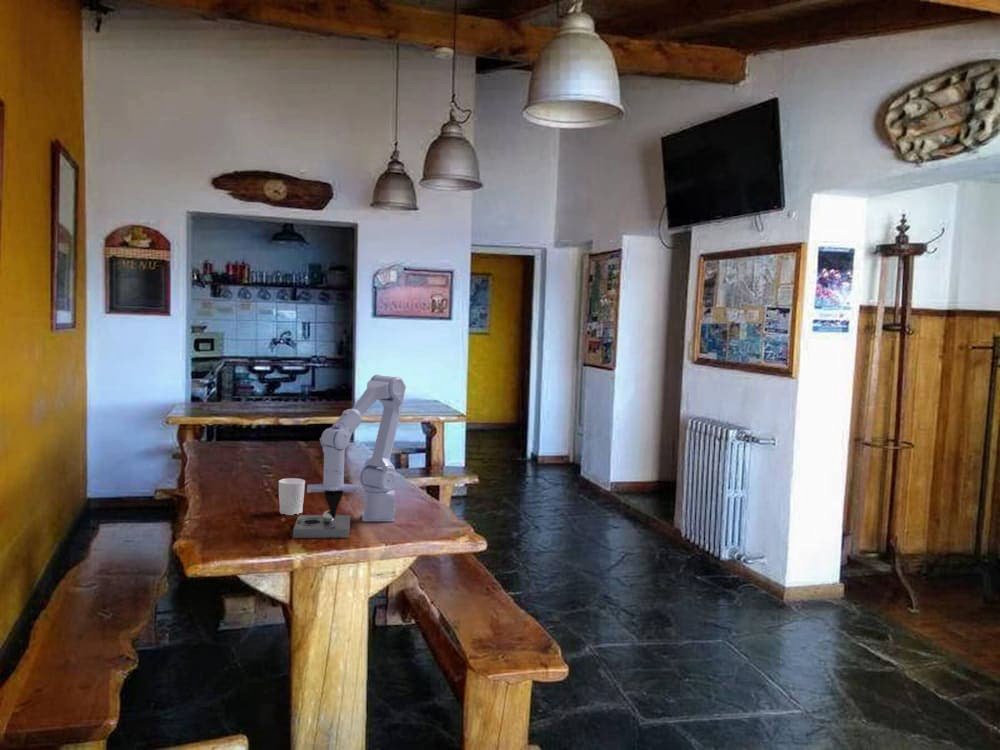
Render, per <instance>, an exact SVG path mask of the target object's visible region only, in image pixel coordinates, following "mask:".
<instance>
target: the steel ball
mask: <svg viewBox="0 0 1000 750" xmlns="http://www.w3.org/2000/svg"><path fill="white" fill-rule="evenodd" d="M322 515H323V520H324V521H325V522H328V523H329V522H332V521H333V520H334V518H333V517H332V516H331V512H330V510H326V511H324V512H323V514H322Z"/></svg>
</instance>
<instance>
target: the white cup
mask: <svg viewBox="0 0 1000 750" xmlns="http://www.w3.org/2000/svg"><path fill="white" fill-rule="evenodd" d="M305 485H306V480H305V479H302V478H297V477H296V478H295V477H291V478H288V477H287V478H283V479H280V480H278V499H279V500H278V502H279V503H278V504H279V513H280V515H283V514H285V515H284V516H295V515H294V514H297V515H300V514H299V513H301V514H302V513H303V506H304V498H305Z"/></svg>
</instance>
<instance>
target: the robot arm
mask: <svg viewBox="0 0 1000 750" xmlns="http://www.w3.org/2000/svg"><path fill="white" fill-rule="evenodd" d="M406 388H407V386H406V384H405V382H404V380H403V378H402V377H399V376H390V375H388V376H387V375H380V374H374V375H373V376H371V378H370V380H368V381H367V383H366V390H365V391H363V393H362V395H361V396H360V397H359V399H358V400H357V402H356V403H355V404H354V405H353V407H352V408H348V409H346V410H343V412H341V413H342V414H341V415H340V417H339V418H338V419H337V420H336V421H335V422H334V423H333V424H332V426H331V427H329V428H326V429H325V430H323V432H322V434H321V437H319V441H320V445H321V446H322V452H323V480H322V481H323V483H317V484H316V483H315V484H307V487H306V493H307V494H308V493H324V498H325V500H326V502H327V505H328V508H329V511H330V512H331V516H332V517H333V518H335V515H337V514H336V512H337V510H338V506H339V504H340V502H341V499H342V497H343V494H344V493H357V494H358V493H360V485H361V486H362V489H363V490H364V499H363V500H364V503H363V506H364V507H363V513H362V517H361V519H362V522H394V521H395V515H396V508H395V499H396V498H395V497H396V493H395V491H396V490H393V489H392V488H393V486H394V484H395V479H396V478H395V471H396V467H395V466H394V464H393V463H392V462H391V460H390V459H391V456H392V451H393V448H394V443H395V440H396V439H395V438H396V435H397V430H398V426H399V422H400V417H401V413H402V410H403V402H404V397H405V394H406V393H405V392H406ZM377 401H379V402H380V403H381V405H382V406H383V410H382V415H381V418H380V419H381V420H380V422H379V426H378V431H377V435H376V439H375V444H374V449H373V453H372V457H370V458H369V459H367V460H366V461H365V462H364V465H363V468H362V469H361V471H360V472H359V483H360V484H353V483H352V484H350V483H345V482H344V481H345V452H346V451H345V449H346V448H347V447H348V446H349V444H350V443H351V442H350V441H351V437H352V435H353V433H354V432H355V431H356V430H357V429H358V427H359V426H360V425H361V424H362V421H363V419H362V417H363V415H365V414H366V412H367V411H368V410H369V409H370V408H371V407H372V406H373V405H374V404H375V403H376V402H377ZM391 489H392V490H391Z"/></svg>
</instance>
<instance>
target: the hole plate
mask: <svg viewBox="0 0 1000 750" xmlns="http://www.w3.org/2000/svg"><path fill="white" fill-rule="evenodd" d="M350 527H351V515H350V514H340V515H339V514H336V515H335V518H334V520H333V521H332V522H329V523H328V522H325V521H324V520H323V514H298V516H297V519H296V522H295V523H294V526H293V529H292V539H349V535H350V530H351V529H350ZM330 537H331V538H330ZM333 537H334V538H333ZM338 537H339V538H338Z"/></svg>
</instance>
